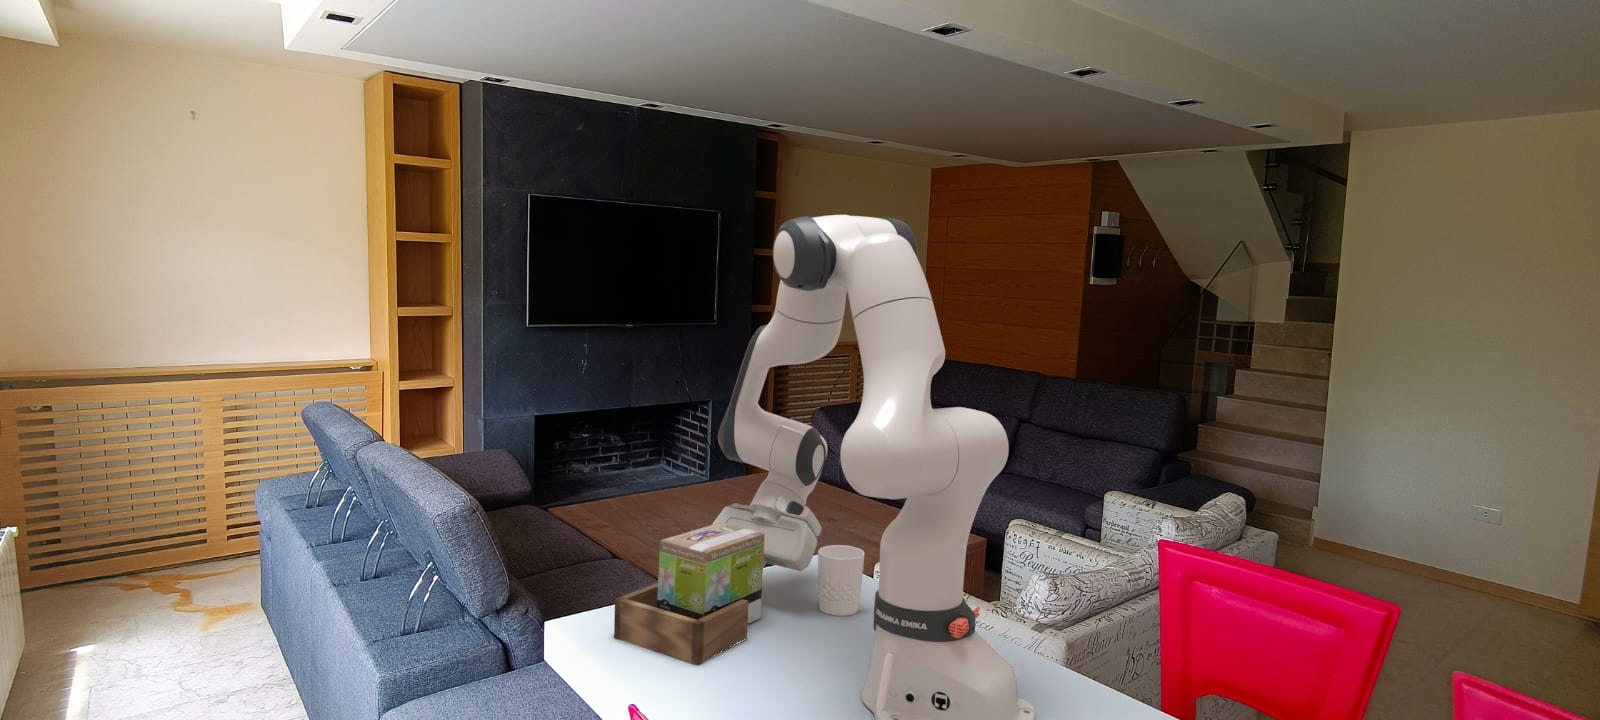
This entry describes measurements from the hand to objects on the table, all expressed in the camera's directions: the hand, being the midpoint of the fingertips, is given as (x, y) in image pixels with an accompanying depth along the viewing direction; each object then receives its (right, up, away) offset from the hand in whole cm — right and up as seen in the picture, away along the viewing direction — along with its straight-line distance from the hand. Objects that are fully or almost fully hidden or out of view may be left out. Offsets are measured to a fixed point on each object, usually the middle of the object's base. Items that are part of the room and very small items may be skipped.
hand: (740, 579), depth 146 cm
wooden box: (-8, -6, -12) cm, 16 cm away
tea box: (-4, -6, -7) cm, 10 cm away
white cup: (+17, -6, +3) cm, 18 cm away
